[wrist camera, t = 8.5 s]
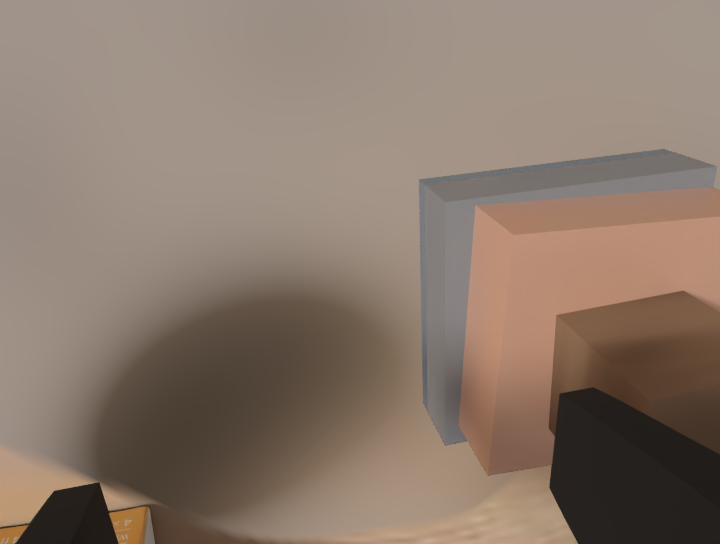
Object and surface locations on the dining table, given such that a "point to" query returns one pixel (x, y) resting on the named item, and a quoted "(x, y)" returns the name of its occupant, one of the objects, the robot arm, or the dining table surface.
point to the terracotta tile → (566, 297)
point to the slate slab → (455, 237)
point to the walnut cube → (646, 360)
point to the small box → (127, 524)
